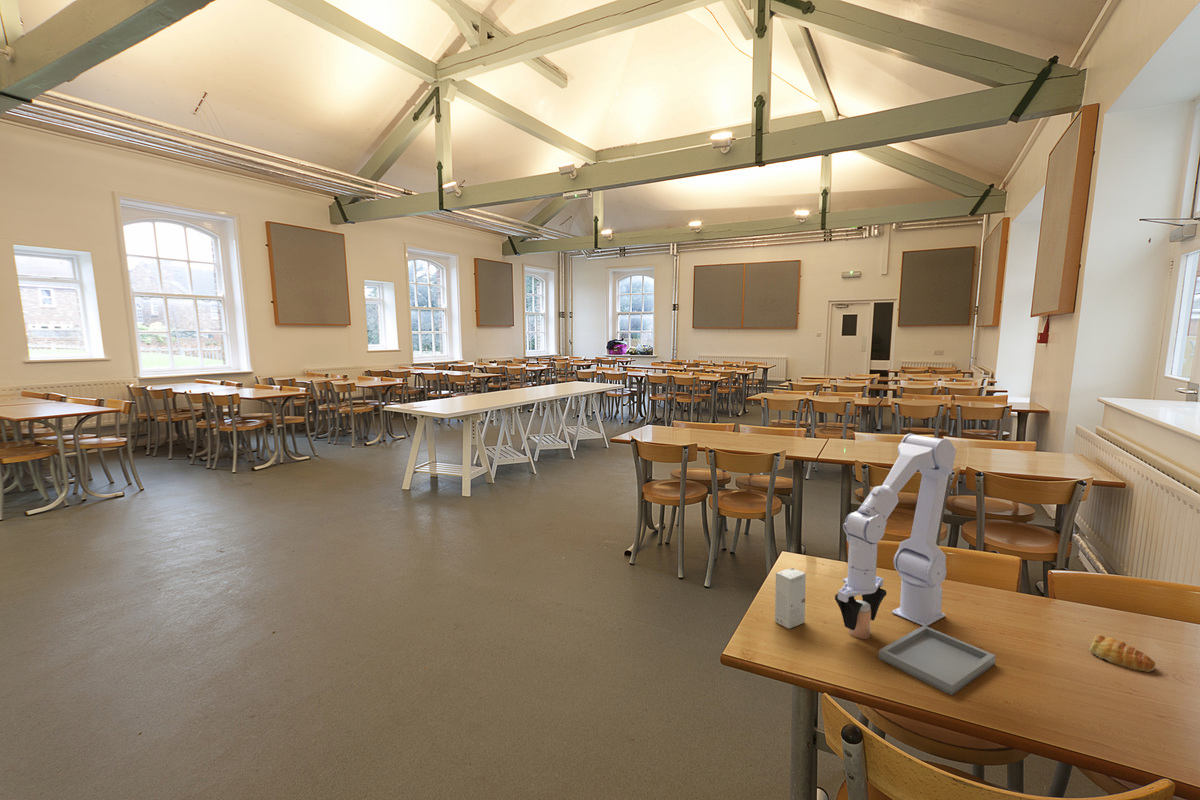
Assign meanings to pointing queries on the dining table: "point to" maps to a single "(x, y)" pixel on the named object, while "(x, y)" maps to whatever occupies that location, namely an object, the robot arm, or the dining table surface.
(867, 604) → the shaker
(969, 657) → the tray
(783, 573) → the skincare box
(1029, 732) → the dining table surface
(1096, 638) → the pastry
